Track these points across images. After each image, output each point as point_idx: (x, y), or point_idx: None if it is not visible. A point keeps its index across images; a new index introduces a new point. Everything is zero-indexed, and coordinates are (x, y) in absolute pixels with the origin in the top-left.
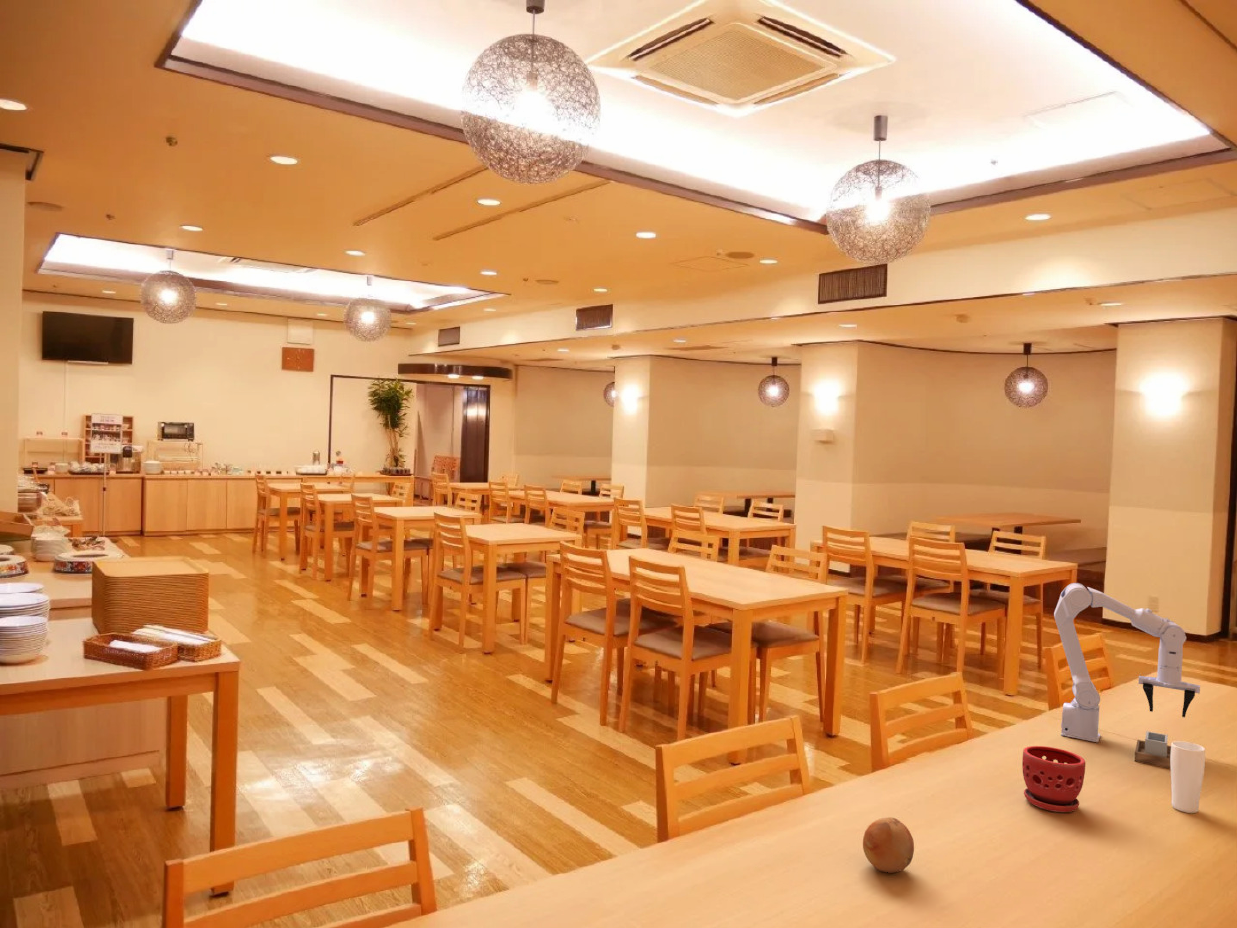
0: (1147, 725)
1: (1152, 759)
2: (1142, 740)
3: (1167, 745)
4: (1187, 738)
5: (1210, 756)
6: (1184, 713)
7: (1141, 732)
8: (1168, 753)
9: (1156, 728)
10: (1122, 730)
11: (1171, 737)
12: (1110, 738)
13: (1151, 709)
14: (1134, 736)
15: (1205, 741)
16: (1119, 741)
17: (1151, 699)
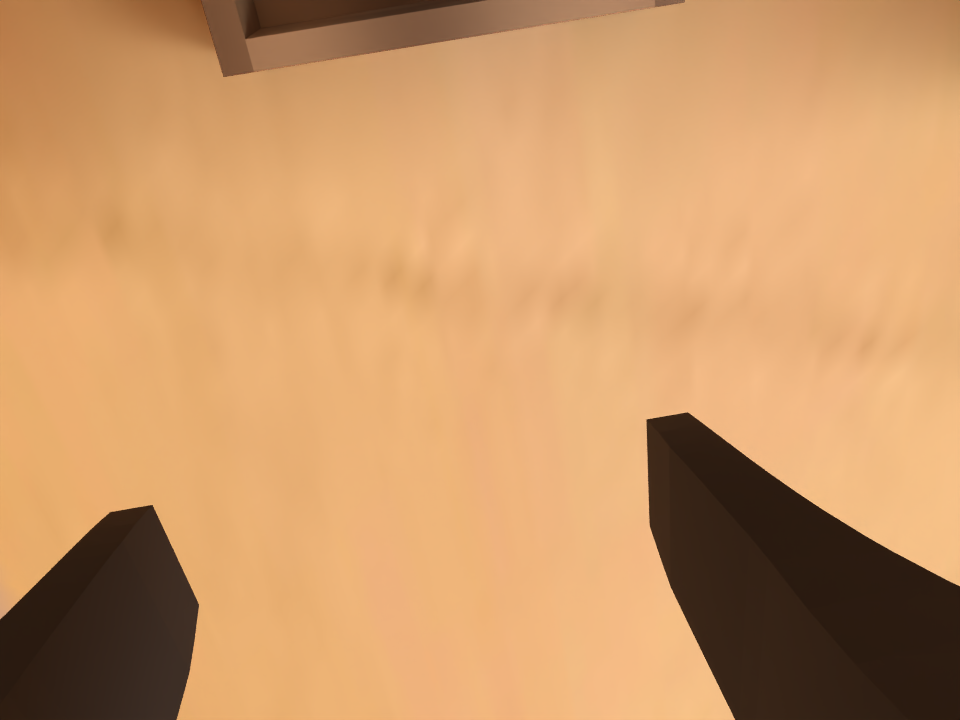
0: (626, 707)
1: None
2: (624, 11)
3: (326, 47)
4: (337, 652)
5: (14, 345)
6: (75, 551)
7: (650, 539)
8: (313, 14)
9: (564, 694)
10: (791, 476)
11: (435, 591)
12: (909, 143)
13: (680, 430)
14: (694, 395)
15: (219, 680)
16: (825, 109)
17: (794, 566)
